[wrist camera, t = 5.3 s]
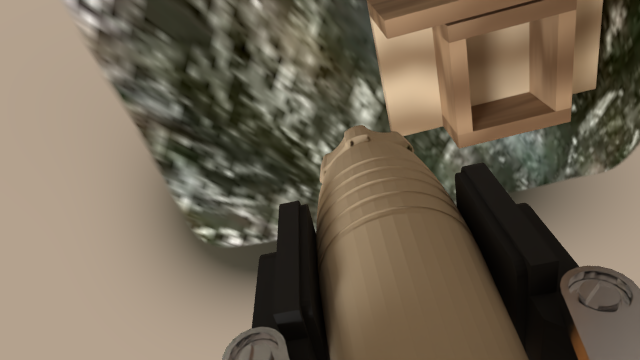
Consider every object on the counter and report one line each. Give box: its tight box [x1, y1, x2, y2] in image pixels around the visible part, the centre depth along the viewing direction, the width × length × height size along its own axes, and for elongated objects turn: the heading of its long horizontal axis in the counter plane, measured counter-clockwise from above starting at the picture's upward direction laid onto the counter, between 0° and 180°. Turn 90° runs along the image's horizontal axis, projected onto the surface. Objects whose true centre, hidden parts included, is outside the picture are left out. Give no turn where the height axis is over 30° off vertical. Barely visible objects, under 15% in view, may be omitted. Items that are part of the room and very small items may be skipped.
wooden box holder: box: [367, 0, 603, 148], centre depth 34 cm, size 12×18×8 cm, turn 104°
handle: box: [316, 125, 529, 360], centre depth 9 cm, size 5×6×15 cm
